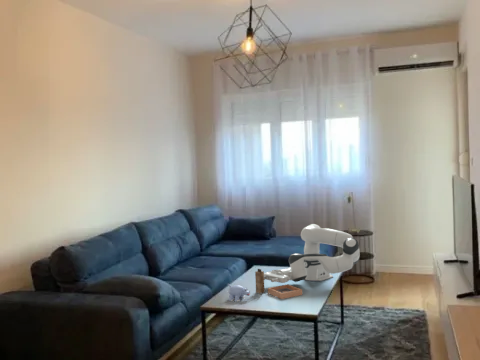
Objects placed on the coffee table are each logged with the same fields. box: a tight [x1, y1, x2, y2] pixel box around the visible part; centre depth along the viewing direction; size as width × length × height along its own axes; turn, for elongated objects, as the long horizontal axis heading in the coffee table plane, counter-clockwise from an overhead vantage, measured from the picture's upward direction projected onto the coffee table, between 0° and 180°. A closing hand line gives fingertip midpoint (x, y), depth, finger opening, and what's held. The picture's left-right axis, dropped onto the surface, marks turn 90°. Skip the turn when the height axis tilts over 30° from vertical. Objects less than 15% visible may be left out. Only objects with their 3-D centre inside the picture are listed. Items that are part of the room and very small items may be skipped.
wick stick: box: [254, 268, 265, 294], centre depth 320 cm, size 4×4×16 cm
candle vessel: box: [267, 284, 303, 300], centre depth 314 cm, size 16×16×4 cm
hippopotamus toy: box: [227, 283, 251, 302], centre depth 307 cm, size 11×15×10 cm
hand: (267, 279), depth 323 cm, fingers open, 8 cm apart
